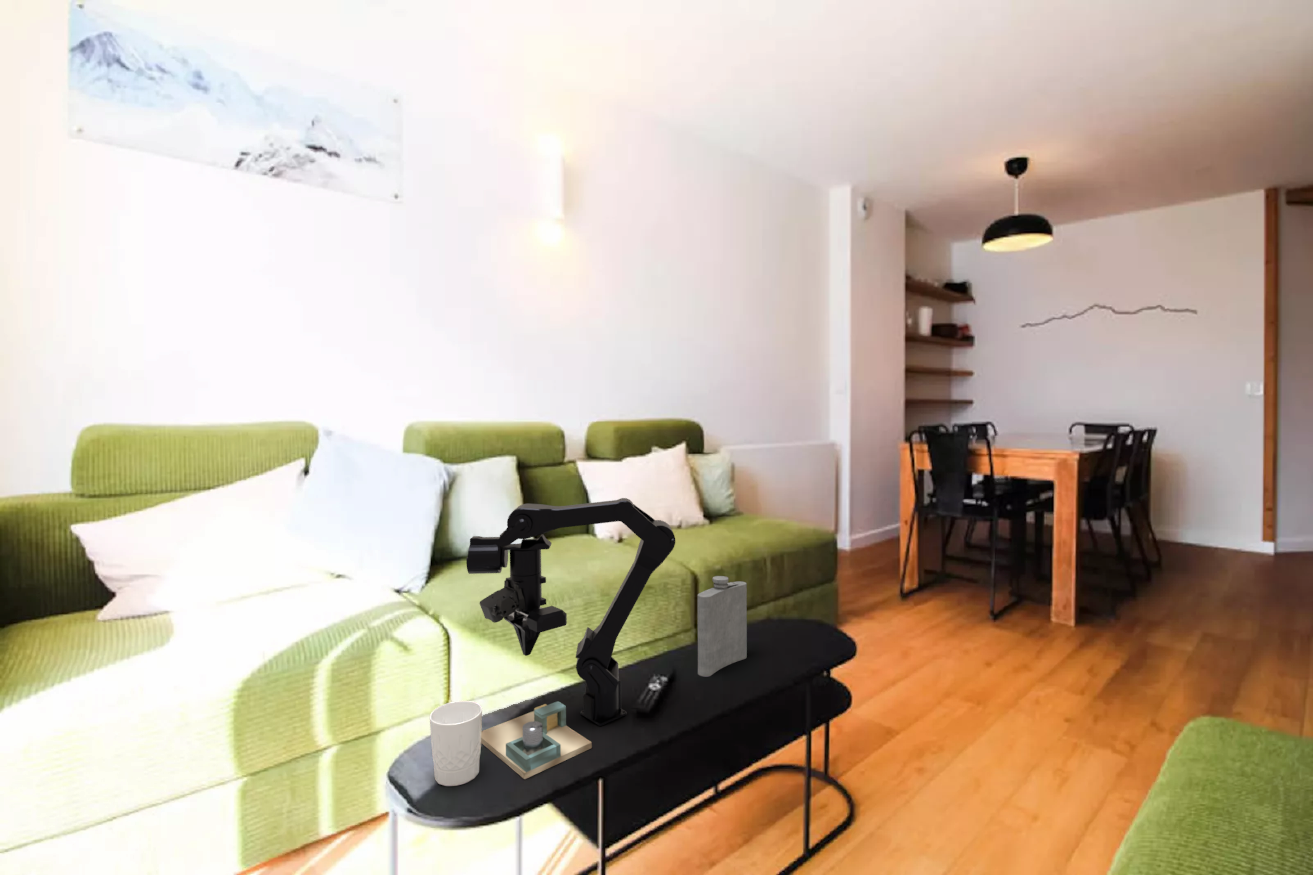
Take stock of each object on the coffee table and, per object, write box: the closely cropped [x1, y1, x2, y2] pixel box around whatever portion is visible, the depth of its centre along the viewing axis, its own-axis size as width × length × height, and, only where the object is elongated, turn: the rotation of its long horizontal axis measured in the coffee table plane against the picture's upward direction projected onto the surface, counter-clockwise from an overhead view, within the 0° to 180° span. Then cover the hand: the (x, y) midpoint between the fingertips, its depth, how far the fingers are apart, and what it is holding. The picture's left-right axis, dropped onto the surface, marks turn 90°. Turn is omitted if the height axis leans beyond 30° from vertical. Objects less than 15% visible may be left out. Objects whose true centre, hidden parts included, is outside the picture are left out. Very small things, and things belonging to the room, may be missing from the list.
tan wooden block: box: [533, 703, 558, 731], centre depth 109 cm, size 2×4×3 cm, turn 43°
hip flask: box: [697, 575, 748, 678], centre depth 137 cm, size 16×4×20 cm, turn 136°
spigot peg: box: [523, 721, 543, 755], centre depth 98 cm, size 3×3×5 cm
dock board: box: [481, 700, 593, 780], centre depth 104 cm, size 13×16×5 cm
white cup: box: [429, 700, 483, 787], centre depth 95 cm, size 8×8×10 cm
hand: (526, 654), depth 113 cm, fingers closed
